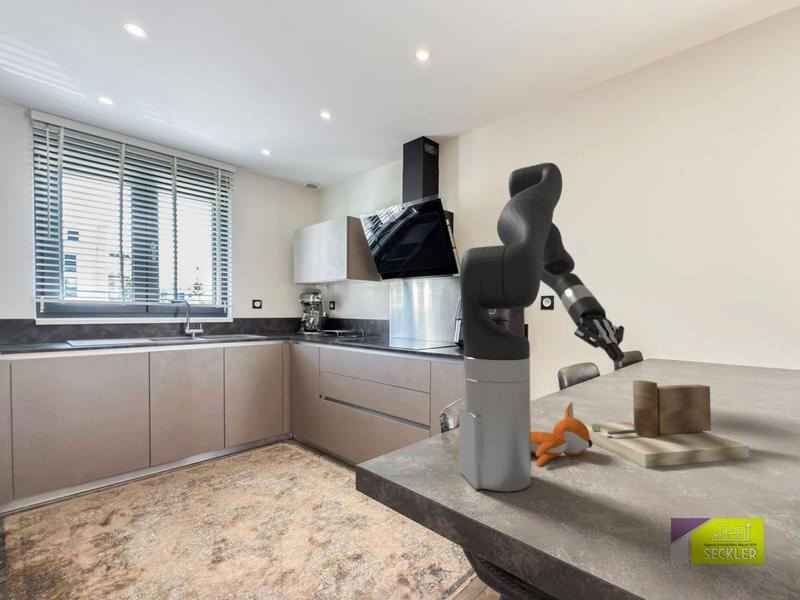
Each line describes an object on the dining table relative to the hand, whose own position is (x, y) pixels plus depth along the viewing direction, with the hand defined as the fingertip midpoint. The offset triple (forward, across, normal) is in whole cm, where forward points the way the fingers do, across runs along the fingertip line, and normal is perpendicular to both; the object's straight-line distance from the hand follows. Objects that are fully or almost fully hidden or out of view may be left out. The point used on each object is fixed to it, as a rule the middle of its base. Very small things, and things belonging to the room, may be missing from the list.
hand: (619, 359), depth 86 cm
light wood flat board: (+21, -7, -2) cm, 22 cm away
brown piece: (+19, -6, -3) cm, 20 cm away
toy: (+18, -30, +2) cm, 35 cm away
